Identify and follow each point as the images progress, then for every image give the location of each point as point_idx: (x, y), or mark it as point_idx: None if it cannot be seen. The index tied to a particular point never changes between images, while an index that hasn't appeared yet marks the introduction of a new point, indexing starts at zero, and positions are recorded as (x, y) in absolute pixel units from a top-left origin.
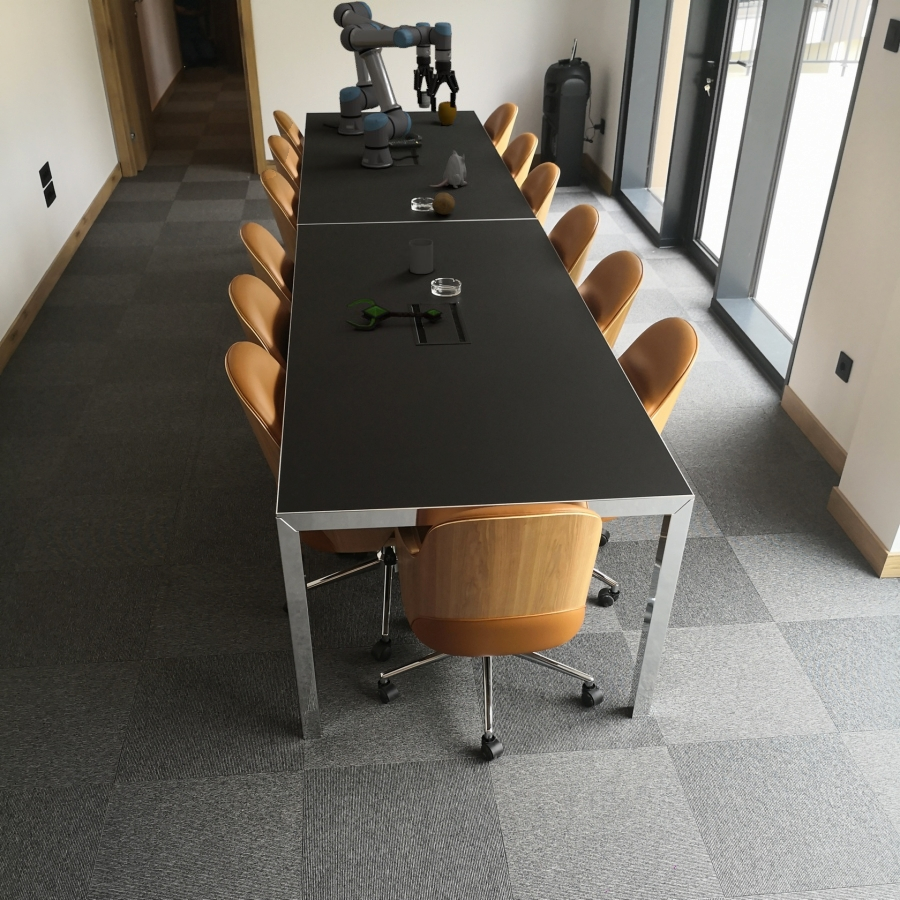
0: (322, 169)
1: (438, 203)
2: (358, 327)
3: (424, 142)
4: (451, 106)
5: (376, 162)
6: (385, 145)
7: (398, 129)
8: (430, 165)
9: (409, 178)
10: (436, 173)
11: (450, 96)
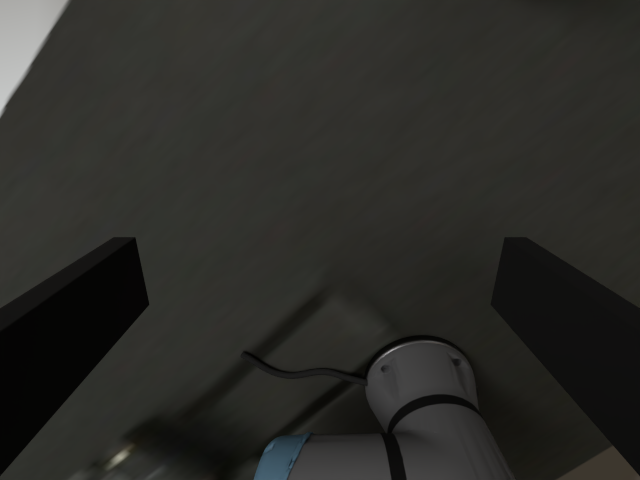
0: (550, 448)
1: None
2: None
3: (96, 446)
4: (139, 290)
5: (462, 368)
6: (442, 405)
7: (363, 456)
8: (296, 251)
9: (500, 186)
10: (374, 153)
11: (54, 403)
